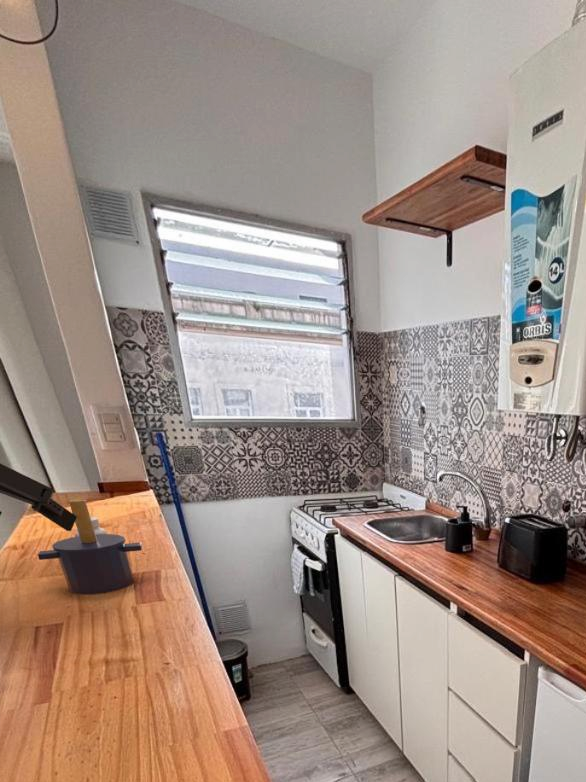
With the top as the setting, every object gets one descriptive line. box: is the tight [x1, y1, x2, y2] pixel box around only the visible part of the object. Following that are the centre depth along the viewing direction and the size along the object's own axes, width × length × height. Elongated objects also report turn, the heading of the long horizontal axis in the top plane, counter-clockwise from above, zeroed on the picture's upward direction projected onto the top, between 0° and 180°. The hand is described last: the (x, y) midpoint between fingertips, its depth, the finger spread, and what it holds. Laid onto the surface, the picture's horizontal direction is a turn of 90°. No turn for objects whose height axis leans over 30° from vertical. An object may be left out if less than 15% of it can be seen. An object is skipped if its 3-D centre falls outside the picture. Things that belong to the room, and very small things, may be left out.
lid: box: [51, 498, 126, 553], centre depth 94 cm, size 11×11×9 cm
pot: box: [37, 541, 143, 595], centre depth 97 cm, size 10×16×8 cm, turn 119°
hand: (34, 521), depth 84 cm, fingers open, 13 cm apart
